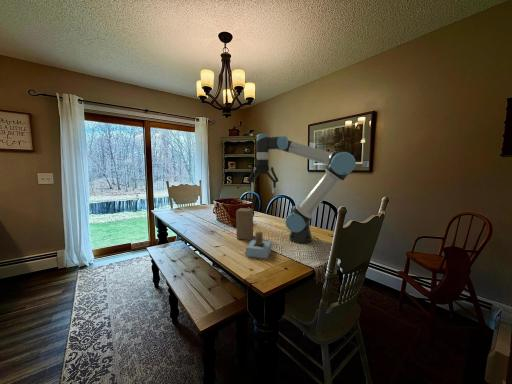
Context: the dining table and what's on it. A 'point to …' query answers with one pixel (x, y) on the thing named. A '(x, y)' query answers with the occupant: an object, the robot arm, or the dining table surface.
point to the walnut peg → (259, 239)
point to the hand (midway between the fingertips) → (262, 192)
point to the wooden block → (244, 223)
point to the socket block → (258, 249)
